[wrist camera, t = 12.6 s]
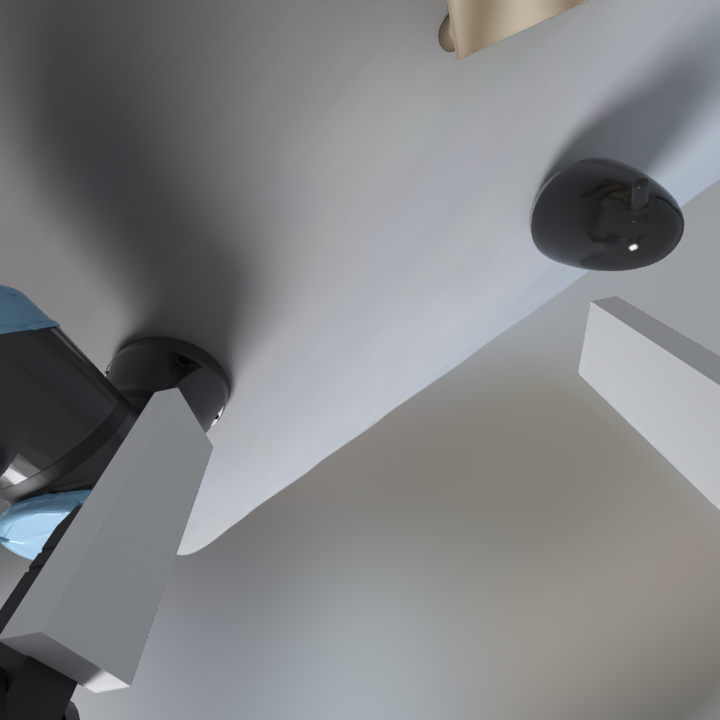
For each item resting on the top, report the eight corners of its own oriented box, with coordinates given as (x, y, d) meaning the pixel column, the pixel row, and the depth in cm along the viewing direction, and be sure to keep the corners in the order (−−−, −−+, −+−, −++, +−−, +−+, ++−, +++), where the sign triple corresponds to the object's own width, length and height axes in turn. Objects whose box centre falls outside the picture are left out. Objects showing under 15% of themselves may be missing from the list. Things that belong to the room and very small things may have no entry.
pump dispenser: (591, 130, 37) (729, 132, 25) (615, 216, 42) (740, 254, 30) (501, 194, 40) (583, 226, 27) (533, 267, 45) (616, 323, 32)
